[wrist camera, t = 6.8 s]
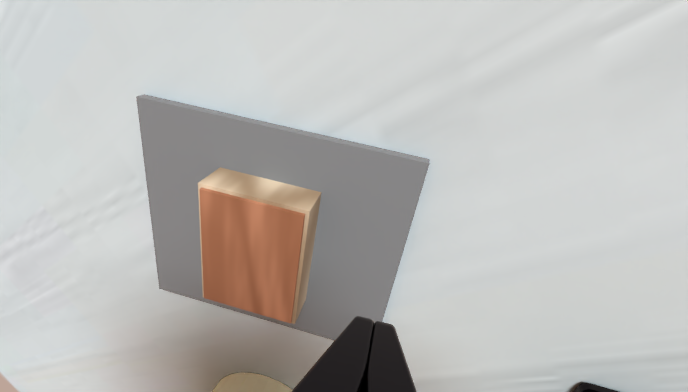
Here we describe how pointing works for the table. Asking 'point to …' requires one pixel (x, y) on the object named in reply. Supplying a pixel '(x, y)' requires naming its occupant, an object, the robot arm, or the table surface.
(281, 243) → the maple tile
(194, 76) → the table surface
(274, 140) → the slate mat
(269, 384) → the reusable coffee cup
